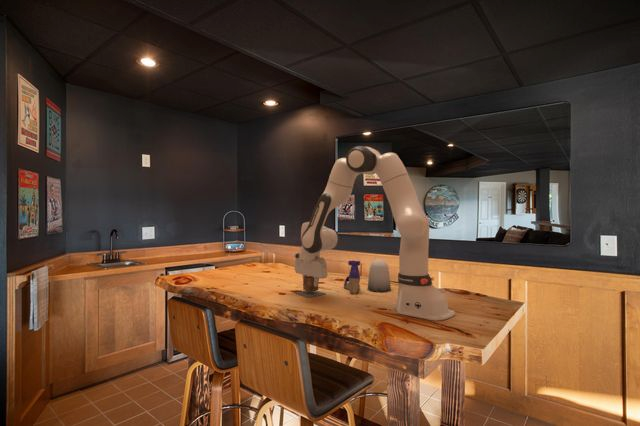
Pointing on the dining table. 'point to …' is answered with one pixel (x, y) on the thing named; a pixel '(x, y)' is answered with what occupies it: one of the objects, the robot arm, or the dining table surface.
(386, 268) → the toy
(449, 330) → the dining table surface
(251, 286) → the dining table surface
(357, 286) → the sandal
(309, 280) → the walnut block
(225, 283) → the dining table surface
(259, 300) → the dining table surface
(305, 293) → the pad
